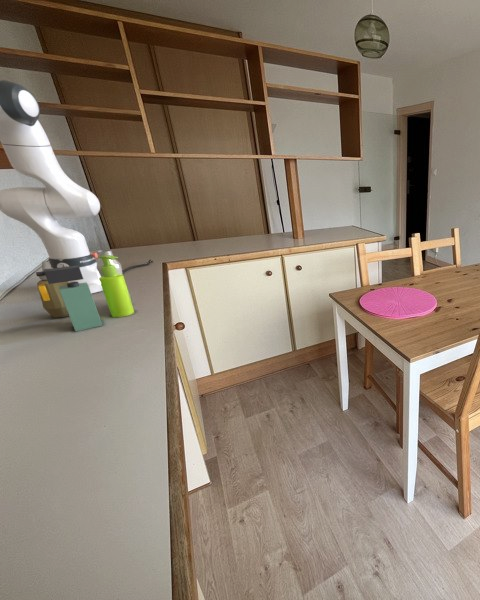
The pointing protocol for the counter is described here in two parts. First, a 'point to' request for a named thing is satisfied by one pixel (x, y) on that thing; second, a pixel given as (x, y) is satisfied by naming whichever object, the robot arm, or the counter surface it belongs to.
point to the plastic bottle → (113, 262)
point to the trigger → (44, 292)
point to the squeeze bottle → (53, 295)
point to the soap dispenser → (115, 289)
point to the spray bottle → (74, 296)
